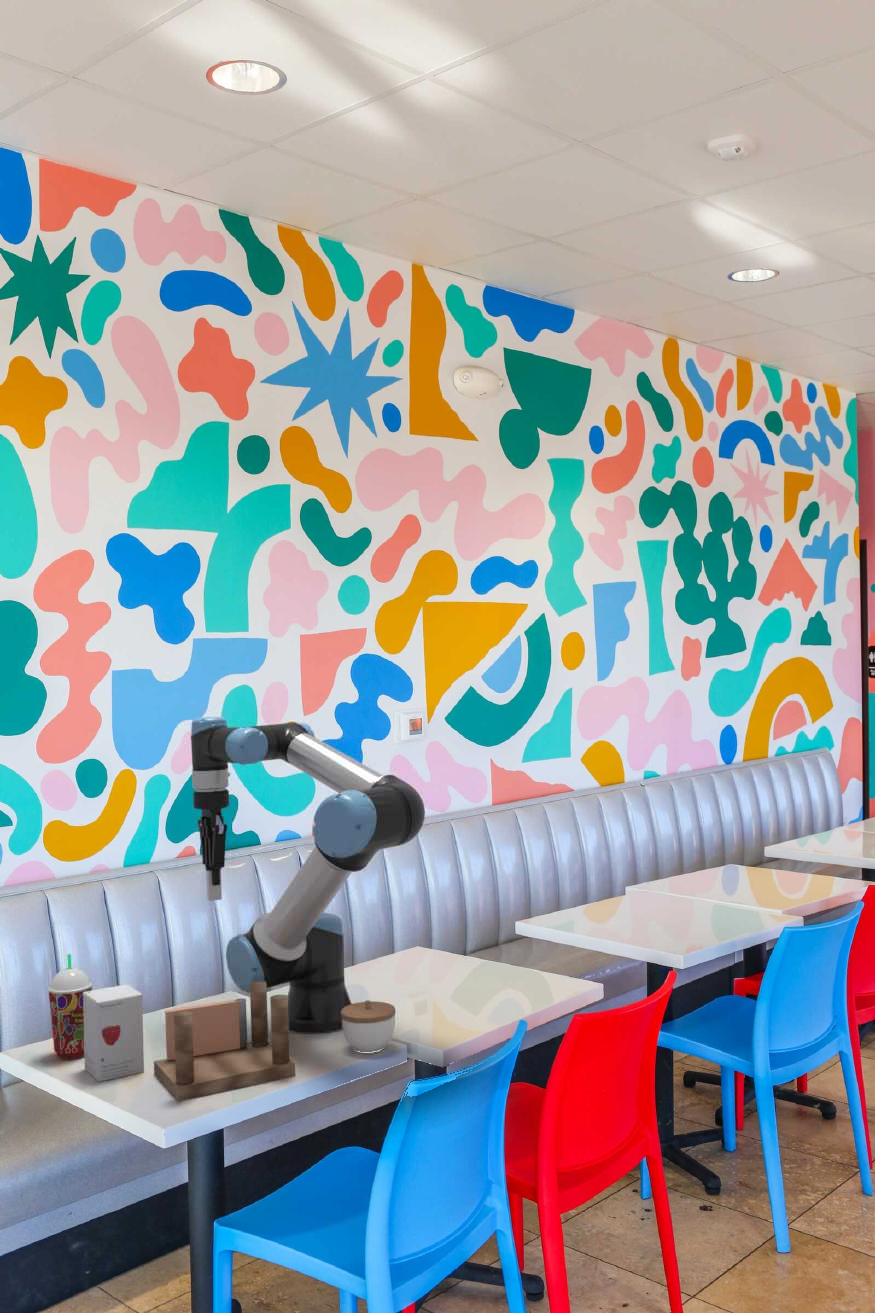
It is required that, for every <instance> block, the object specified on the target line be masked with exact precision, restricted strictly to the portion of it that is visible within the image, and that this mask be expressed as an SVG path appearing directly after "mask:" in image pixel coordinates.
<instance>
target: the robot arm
mask: <svg viewBox="0 0 875 1313" xmlns="http://www.w3.org/2000/svg"><path fill="white" fill-rule="evenodd" d="M190 730H191V734H190V740H191V741H190V746H191V763H192V764H191V766H192V771H191V772H192V773H191V775H192V780H191V781H192V789H194V791H193V792H192V794H193V795H192V796H193V797H192V798H193V799H192V801H193V803H192V804H193V808H194V809H196V810H201V816H200V817H199V819H197V825H198V831H199V839H200V849H201V850H200V851H201V857H202V858H201V859H202V864H203V865H204V868H205V872H206V893H207V894H206V895H207V896H206V897H207V898H206V900H207V901H208V902H212V901H213V902H214V901H220V900H223V897H222V896H223V895H222V893H223V892H222V868H225V863H226V862H225V860H226V859H225V858H226V839H227V830H228V825H227V824H226V823H224V822H225V820H224V816H223V814H222V809H225V808H228V807H229V806H230V790H228V789H226V788H228V787H229V777H231V773H230V771H229V764H239V765H241V766H242V765H244V766H246V765H255V764H257V763H260V762H266V761H273V760H274V761H275V760H281V761H285V763H288V764H289V765H290V766H291V765H292V766H293V767H295V768H297V769H298V770H300V771H302V772H303V773H305V774H307V775H308V776H310V777H312V778H313V779H315V780H316V781H318V782H320V783H322V784H323V785H324V786H326V787H328V788H330V789H331V790H333V791H335V792H336V793H334V794H331V795H329V796H327V797H326V798H325V799H324V800H322V801H321V802H320V804H319V805H318V807H317V809H316V810H315V813H314V816H313V823H315V824H314V825H313V826H312V833H313V841H314V842H313V843H314V848H313V849H312V850H311V851H310V854H309V855H308V857H307V858H306V860H304V863H303V864H302V865H301V866H300V867H299V868H300V869H299V870H298V871H297V873H296V875H295V876H294V877H293V879H292V880H291V882H289V885H288V886H287V888H286V889H285V891H284V892H283V894H282V895H281V896H280V898H279V900H278V901H277V902H276V904H275V905H274V906H273V908H272V910H271V911H270V912H267V913H264V914H263V913H262V914H261V915H260V916H258V918H256V920H255V921H254V922H253V924H252V925H251V927H250V928H249V930H248V931H247V932H245V933H243V934H242V933H239V934H237V935H235V936H233V937H231V938H230V940H228V942H227V943H228V944H227V946H226V950H225V960H226V967H227V970H228V973H229V975H230V978H231V980H232V981H233V983H234V984H235V986H236V987H237V988H238V989H239V990H240V991H243V992H245V993H249V994H250V983H251V982H254V981H265V982H266V986H267V990H268V989H272V988H275V987H278V986H280V985H284V984H288V983H289V989H288V993H287V996H288V1022H289V1032H290V1031H291V1032H294V1033H299V1034H300V1033H301V1034H302V1033H303V1034H318V1033H319V1034H320V1033H321V1034H323V1033H329V1032H335V1031H339V1030H343V1028H342V1017H341V1010H342V1009H343V1008H344V1007H346V1006H348V1005H351V1004H353V1003H352V1001H351V998H350V995H349V992H348V990H347V987H346V984H345V954H344V953H345V952H344V951H345V948H344V947H345V946H344V944H345V943H344V938H345V934H344V930H343V929H344V928H343V921H342V919H341V917H339V916H338V915H336V914H334V913H330V912H329V913H328V912H325V910H327V908H328V907H329V905H330V904H331V903H332V901H333V899H334V898H335V897H336V895H337V894H338V892H340V890H341V889H342V887H343V885H344V884H345V883H346V881H347V880H348V878H349V877H350V876H351V874H352V873H357V872H361V871H363V870H364V869H366V867H367V866H368V864H369V863H370V861H371V860H372V859H373V858H374V856H375V855H376V854H377V852H379V851H380V850H384V849H388V848H389V849H390V848H394V847H399V846H402V845H405V844H407V843H409V842H411V841H412V840H413V839H415V838H416V836H418V834H419V833H420V831H421V830H422V827H423V825H424V822H425V819H426V818H425V816H426V815H425V814H426V813H425V812H426V809H425V804H424V800H423V798H422V797H421V795H420V793H419V792H418V791H417V790H416V788H414V787H413V786H412V785H410V784H409V783H407V782H406V781H405V780H402V779H401V778H399V777H398V776H396V775H394V774H381V773H379V772H378V771H376V770H374V769H372V768H371V767H368V766H367V765H365V764H364V763H361V762H360V761H358V760H356V759H354V758H353V757H351V756H349V755H347V754H345V753H343V752H342V751H340V750H338V749H337V748H334V747H333V746H331V745H329V744H327V743H326V742H324V741H322V740H320V739H319V738H317V737H316V736H315V732H314V731H313V730H312V728H311V726H310V725H309V724H307V723H305V722H295V721H292V722H290V721H289V722H286V723H276V724H274V723H273V724H266V725H264V724H261V725H252V726H239V727H237V726H232V727H228V723H227V719H226V717H222V716H206V717H196V718H194V719H193V720H192V721H191V729H190Z"/></svg>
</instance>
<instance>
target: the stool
mask: <svg viewBox="0 0 875 1313" xmlns="http://www.w3.org/2000/svg"><path fill="white" fill-rule="evenodd" d="M267 991H268V989H267V986H266V982H265V981H254V982H251V983H250V993H249V994H250V995H249V998H250V999H249V1001H250V1028H251V1029H250V1031H251V1034H250V1035H251V1041H250V1042H249V1041H248V1042H247V1047H246V1048H239V1049H233V1050H227V1051H221V1052H215V1053H209V1054H203V1055H197V1056H193V1026H192V1013H191V1012H178V1013H175V1014H174V1038H175V1059H173V1060H168V1059H167V1058H162V1059H158V1060H154V1061H153V1065H154V1066H153V1073H154V1075H155V1076H156V1077H157V1079H158V1080H159V1081H160V1082H161V1084H163V1086H164V1087H166V1089H167V1090H168V1092H170V1093H171V1094H172V1095H173V1096H174V1097H175V1099H176V1100H177V1101H178V1102H180V1101H185V1100H189V1099H194V1098H198V1097H204V1096H207V1095H212V1094H217V1093H222V1092H226V1091H227V1092H228V1091H231V1090H235V1089H236V1090H237V1089H240V1088H246V1087H249V1086H254V1085H259V1084H263V1083H268V1082H273V1081H278V1080H281V1078H283V1079H286V1077H287V1078H291V1076H292V1077H296V1062H294V1061H293V1060H292V1059H291V1058H290V1056H291V1055H290V1030H289V1022H288V994H276V995H275V994H274V995H271V996H270V999H269V1001H270V1028H271V1033H270V1034H271V1043H270V1042H269V1022H268V1021H269V1020H268V994H267V993H268V992H267ZM277 1079H278V1080H277Z"/></svg>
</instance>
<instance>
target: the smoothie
mask: <svg viewBox="0 0 875 1313" xmlns="http://www.w3.org/2000/svg"><path fill="white" fill-rule="evenodd" d="M47 990H48V998H49V1008H50V1017H51V1019H50V1020H51V1028H52V1039H53V1040H52V1041H53V1042H52V1043H53V1051H54V1052H55V1053H56V1055H57V1058H58V1059H60V1060H77V1059H80V1058H83V1057H84V1011H83V992H87V991H93V983H92V981H90V978H89V976H88V975H87V974H86V973H85V972H84V971H83V970H82V969H80V968H77V967H73V966H72V953H69V954H67V968H64V969H61V970H60V971H58V972H57V973H56V974H55V975H54V977H53V978H52V980H51V982H50V985H49V986H48V988H47Z"/></svg>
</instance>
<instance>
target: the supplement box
mask: <svg viewBox="0 0 875 1313" xmlns="http://www.w3.org/2000/svg"><path fill="white" fill-rule="evenodd" d="M83 1011H84V1056H83V1057H84V1059H83V1060H84V1069H85V1071H86V1072H88V1074H90V1075H91V1076H92V1077H93V1078H94V1080H96V1081H97V1082H99V1083H100V1082H104V1081H109V1080H113V1079H118V1078H122V1077H127V1076H132V1075H137V1074H141V1073H144V1072H145V1059H144V1058H145V1057H144V1055H145V1054H144V1052H145V1050H144V1025H143V1024H144V1021H143V1020H144V1018H143V1017H144V1016H143V994H142V993H141V992H140V991H138V990H137V989H135V988H134V987H132V986H131V985H129V984H123V985H122V984H121V985H116V986H112V987H104V988H99V989H94V990H93V989H92V991H87V992H83Z"/></svg>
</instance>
